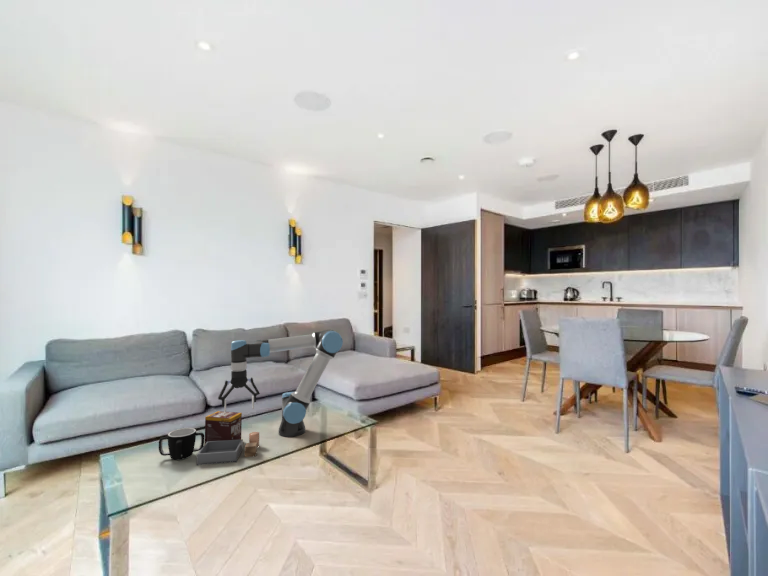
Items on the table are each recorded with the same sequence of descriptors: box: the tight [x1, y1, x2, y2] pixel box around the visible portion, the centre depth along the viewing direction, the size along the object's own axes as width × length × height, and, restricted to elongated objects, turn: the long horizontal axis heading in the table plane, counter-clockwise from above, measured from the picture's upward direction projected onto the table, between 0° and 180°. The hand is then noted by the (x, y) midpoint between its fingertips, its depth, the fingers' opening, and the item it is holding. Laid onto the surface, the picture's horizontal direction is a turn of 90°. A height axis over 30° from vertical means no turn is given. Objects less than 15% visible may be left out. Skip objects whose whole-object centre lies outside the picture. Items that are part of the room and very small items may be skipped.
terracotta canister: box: [248, 431, 260, 447], centre depth 189 cm, size 5×5×7 cm
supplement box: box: [203, 410, 243, 446], centre depth 194 cm, size 10×15×16 cm
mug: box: [158, 427, 205, 461], centre depth 177 cm, size 16×16×12 cm
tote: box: [196, 438, 244, 466], centre depth 177 cm, size 17×15×5 cm
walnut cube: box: [244, 442, 258, 458], centre depth 180 cm, size 5×5×5 cm
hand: (239, 410), depth 190 cm, fingers open, 13 cm apart
